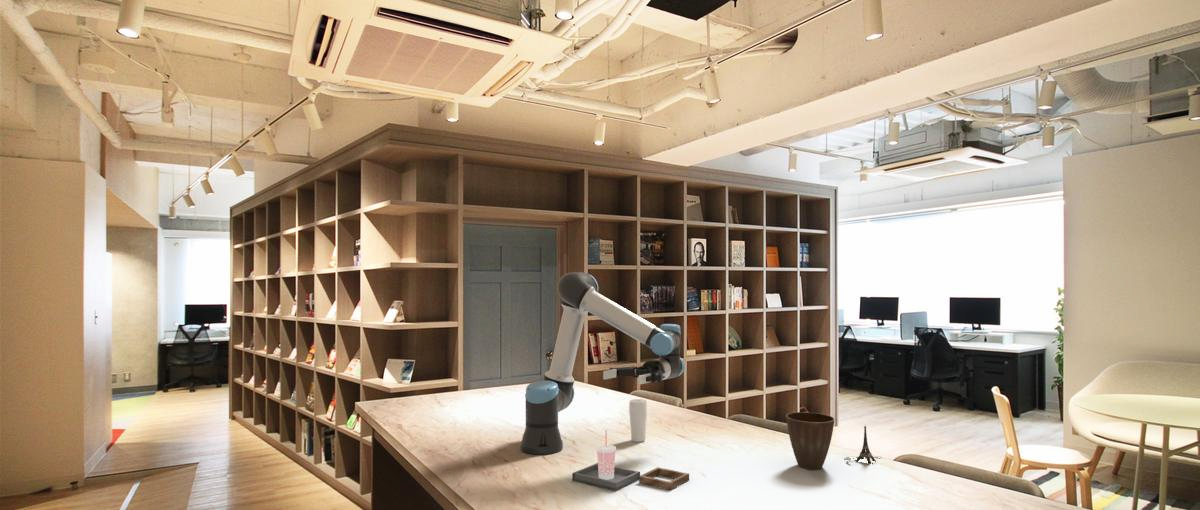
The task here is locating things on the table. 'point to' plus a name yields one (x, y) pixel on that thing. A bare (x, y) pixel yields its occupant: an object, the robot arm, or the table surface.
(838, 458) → the table surface
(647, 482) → the holder
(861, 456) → the eiffel tower figurine
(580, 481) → the tray
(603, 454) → the beverage cup
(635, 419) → the white tumbler
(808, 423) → the plant pot
